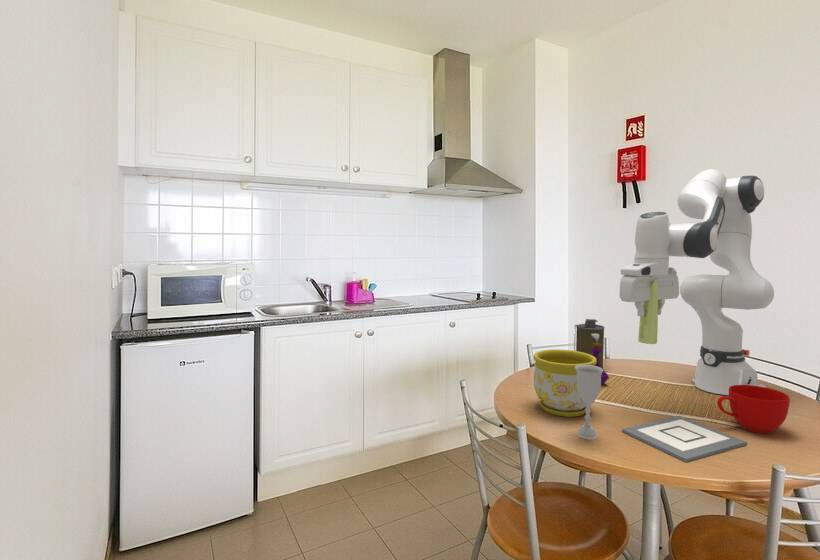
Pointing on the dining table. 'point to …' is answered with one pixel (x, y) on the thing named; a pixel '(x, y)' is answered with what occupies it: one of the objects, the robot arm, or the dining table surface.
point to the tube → (650, 318)
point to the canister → (589, 338)
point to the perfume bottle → (596, 351)
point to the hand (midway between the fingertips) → (649, 315)
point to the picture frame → (683, 438)
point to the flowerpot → (560, 381)
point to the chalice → (588, 395)
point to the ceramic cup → (757, 407)
